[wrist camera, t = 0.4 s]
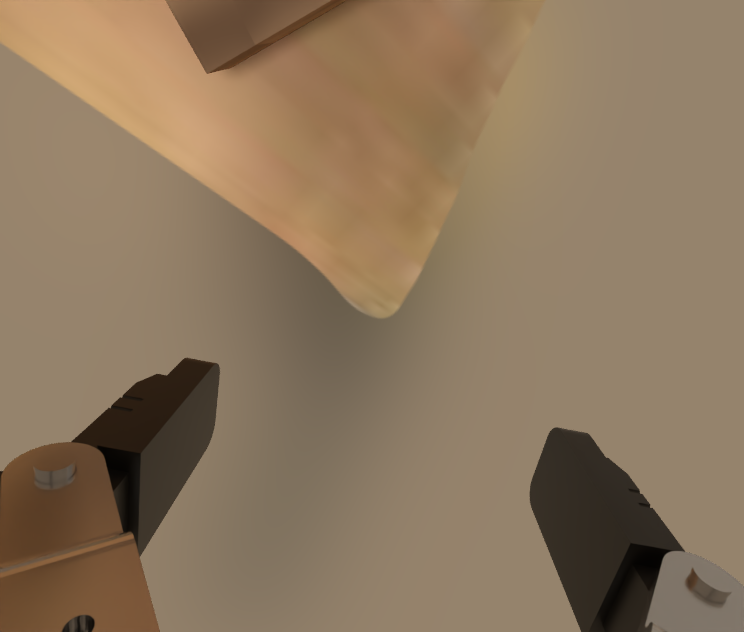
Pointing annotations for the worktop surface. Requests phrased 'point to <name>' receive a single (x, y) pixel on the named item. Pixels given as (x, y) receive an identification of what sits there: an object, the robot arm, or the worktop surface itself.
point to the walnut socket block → (241, 26)
